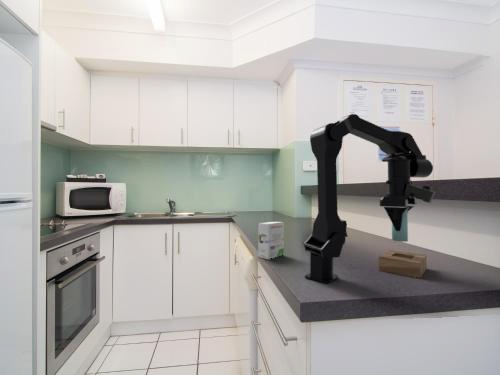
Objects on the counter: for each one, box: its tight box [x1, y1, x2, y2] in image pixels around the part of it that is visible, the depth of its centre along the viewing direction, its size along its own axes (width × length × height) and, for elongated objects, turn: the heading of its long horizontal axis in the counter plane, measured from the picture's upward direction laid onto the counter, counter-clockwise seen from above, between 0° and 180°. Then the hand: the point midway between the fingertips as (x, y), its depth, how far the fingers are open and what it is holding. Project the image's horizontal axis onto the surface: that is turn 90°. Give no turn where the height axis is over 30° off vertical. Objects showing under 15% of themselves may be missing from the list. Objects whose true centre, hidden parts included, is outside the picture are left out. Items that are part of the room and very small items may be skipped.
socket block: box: [378, 249, 428, 278], centre depth 74 cm, size 12×10×4 cm
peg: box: [391, 210, 409, 243], centre depth 74 cm, size 4×4×10 cm
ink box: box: [257, 221, 285, 260], centre depth 88 cm, size 8×5×12 cm, turn 135°
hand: (399, 230), depth 74 cm, fingers closed on peg, 4 cm apart
